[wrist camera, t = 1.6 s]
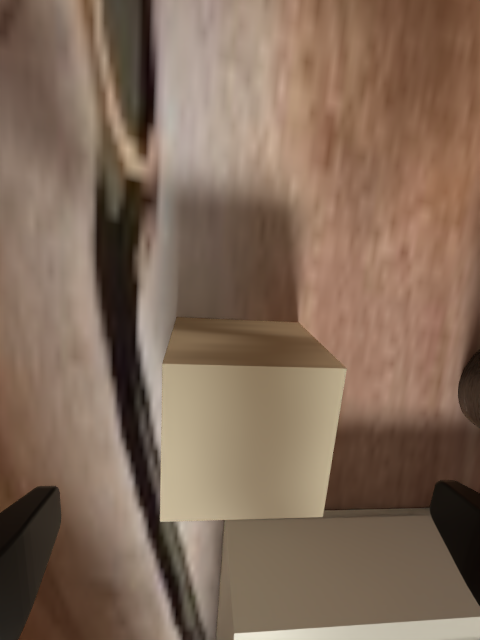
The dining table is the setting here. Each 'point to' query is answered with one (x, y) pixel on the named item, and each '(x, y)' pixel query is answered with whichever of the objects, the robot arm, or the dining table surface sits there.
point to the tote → (342, 579)
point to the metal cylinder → (471, 390)
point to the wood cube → (246, 420)
